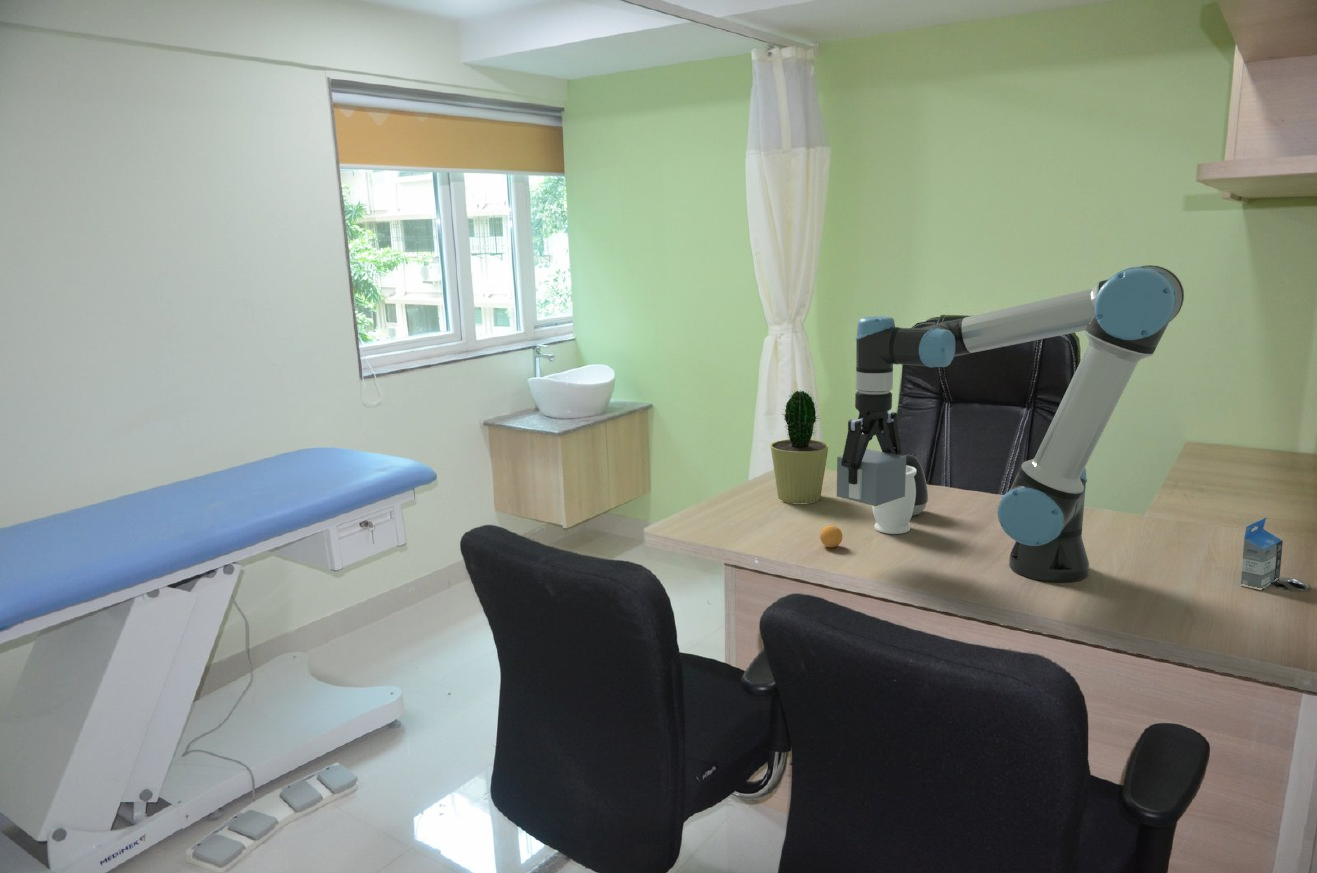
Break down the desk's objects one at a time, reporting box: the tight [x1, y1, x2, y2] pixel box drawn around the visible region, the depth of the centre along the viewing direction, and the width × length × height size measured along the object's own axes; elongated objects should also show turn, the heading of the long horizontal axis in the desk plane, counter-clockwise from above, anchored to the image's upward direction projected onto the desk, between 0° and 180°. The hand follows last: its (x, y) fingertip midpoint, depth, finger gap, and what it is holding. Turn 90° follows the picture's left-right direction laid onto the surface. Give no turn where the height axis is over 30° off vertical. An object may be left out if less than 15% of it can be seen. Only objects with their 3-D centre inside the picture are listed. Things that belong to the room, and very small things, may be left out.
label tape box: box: [1240, 517, 1284, 588], centre depth 173 cm, size 9×4×12 cm, turn 126°
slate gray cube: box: [836, 448, 906, 507], centre depth 189 cm, size 10×10×9 cm
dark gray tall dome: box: [903, 453, 929, 517], centre depth 222 cm, size 10×10×15 cm
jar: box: [871, 465, 916, 535], centre depth 211 cm, size 11×10×15 cm
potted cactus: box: [769, 390, 830, 504], centre depth 236 cm, size 15×15×30 cm
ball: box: [819, 524, 843, 548], centre depth 201 cm, size 5×5×5 cm
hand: (871, 493), depth 190 cm, fingers closed on slate gray cube, 10 cm apart
